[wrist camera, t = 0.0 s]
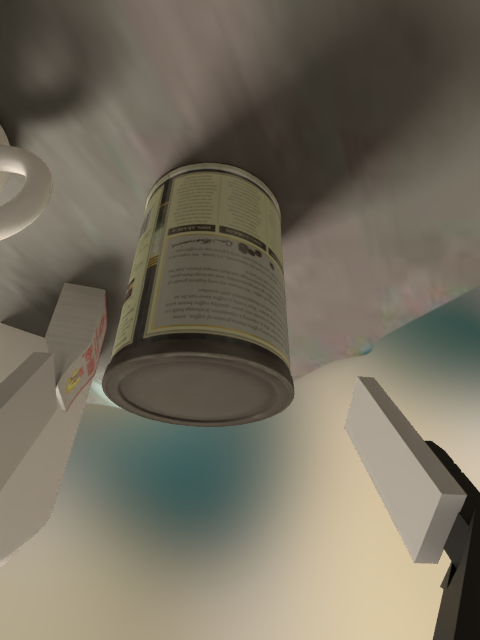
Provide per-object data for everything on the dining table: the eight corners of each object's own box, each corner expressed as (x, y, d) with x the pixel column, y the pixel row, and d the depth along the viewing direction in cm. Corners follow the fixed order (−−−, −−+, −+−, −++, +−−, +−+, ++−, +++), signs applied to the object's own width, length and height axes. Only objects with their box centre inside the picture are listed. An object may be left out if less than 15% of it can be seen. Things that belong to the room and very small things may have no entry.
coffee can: (277, 268, 32) (284, 429, 24) (159, 266, 32) (129, 426, 25) (290, 160, 24) (308, 356, 16) (129, 159, 24) (68, 353, 16)
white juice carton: (71, 320, 40) (42, 409, 34) (64, 282, 34) (28, 381, 29) (107, 325, 41) (84, 414, 35) (105, 289, 35) (78, 387, 30)
